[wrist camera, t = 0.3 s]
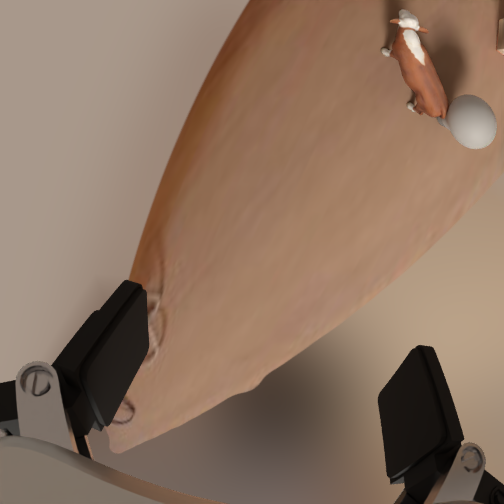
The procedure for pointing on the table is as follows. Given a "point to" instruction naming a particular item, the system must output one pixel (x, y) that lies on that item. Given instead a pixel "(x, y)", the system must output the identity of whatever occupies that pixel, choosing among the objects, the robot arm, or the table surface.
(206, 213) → the table surface
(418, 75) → the bull figurine
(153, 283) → the table surface
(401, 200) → the table surface
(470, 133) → the lightbulb
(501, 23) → the birch block
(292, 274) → the table surface
